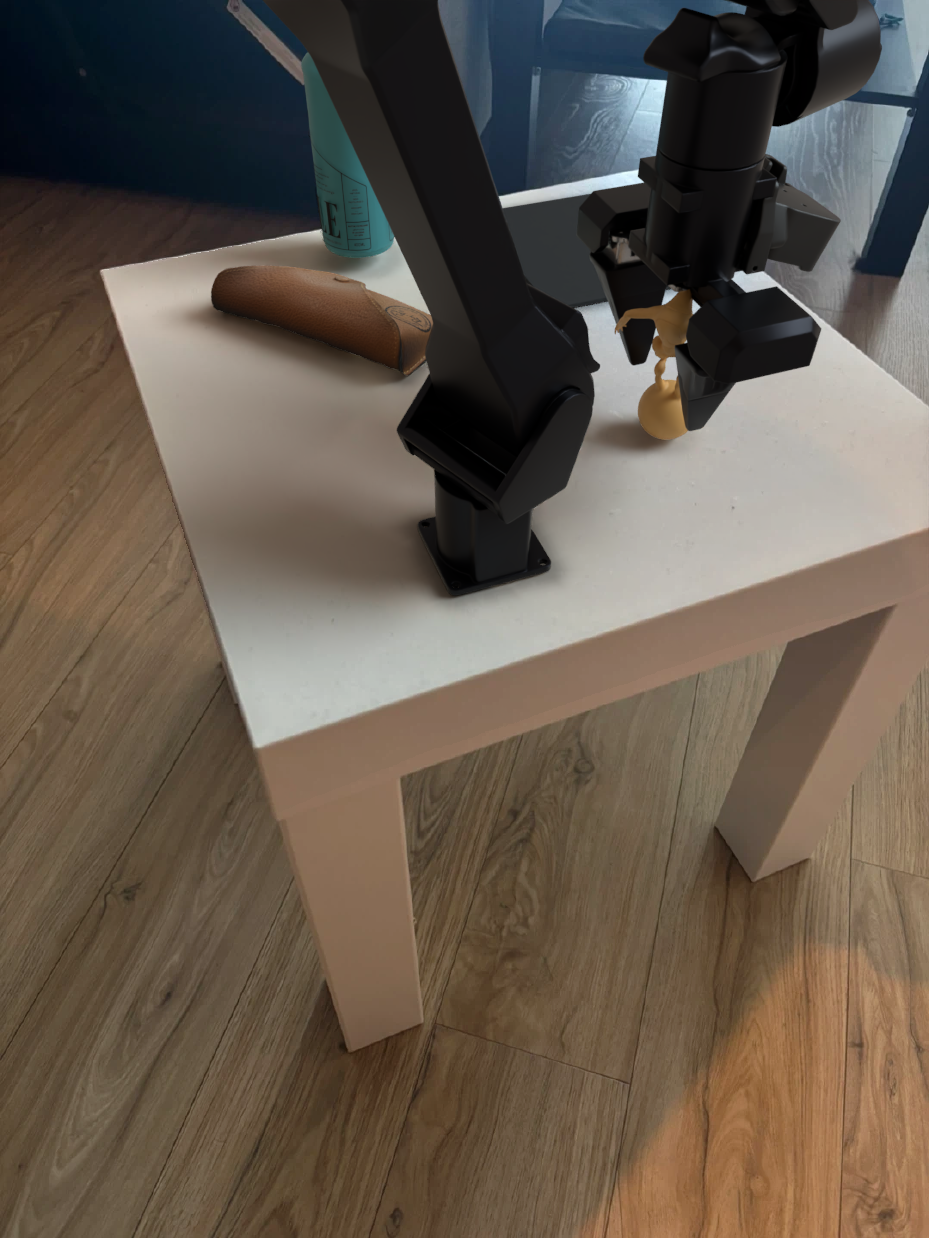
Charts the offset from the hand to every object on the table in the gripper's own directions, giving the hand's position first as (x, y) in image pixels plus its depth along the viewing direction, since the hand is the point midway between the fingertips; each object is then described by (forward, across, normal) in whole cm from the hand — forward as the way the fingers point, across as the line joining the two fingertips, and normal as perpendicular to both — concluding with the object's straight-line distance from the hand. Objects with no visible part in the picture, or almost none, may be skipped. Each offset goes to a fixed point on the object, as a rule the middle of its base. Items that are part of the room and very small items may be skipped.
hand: (664, 395), depth 62 cm
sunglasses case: (+4, +22, +17) cm, 28 cm away
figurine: (+4, 0, 0) cm, 4 cm away
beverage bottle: (+4, +32, +12) cm, 34 cm away
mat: (+4, +27, -7) cm, 28 cm away
